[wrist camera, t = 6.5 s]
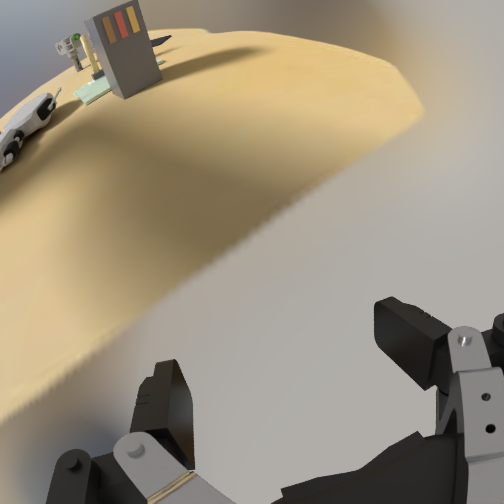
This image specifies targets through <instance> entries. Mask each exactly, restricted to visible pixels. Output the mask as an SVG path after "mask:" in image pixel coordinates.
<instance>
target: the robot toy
mask: <svg viewBox="0 0 504 504" xmlns="http://www.w3.org/2000/svg"><path fill="white" fill-rule="evenodd" d="M60 91H61V88H59V89H58V92H57V93H56V95H55V97H54V98H53V96H52V94H50V93H45V94H42V95H39V96H37V97H35V98H34V99H32V100H30V101H29V102H27V103H26V104H24V105H23V106H22V107H21V108H19V109H18V110H17V111H16V112H15V114H14V115H13V116H12V117H11V118H10V120H9V121H8V122H7V123H6V125H5V126H4V129H3V133H1V135H0V170H1V169H2V168H3V167H4V166H6V165H8V164H10V163H11V162H13V161H14V160H15V158H16V157H17V155H18V151H19V149H20V148H21V146H22V139H23V138H25V137H27V136H28V135H30V134H32V133H33V132H35V131H36V130H37V129H41V128H43V127H44V126H46V125H47V124H48V122H49V120H50V118H51V114H52V113H53V112H54V110H55V109H56V104H57V102H56V101H55V99H56V97H57V96H58V94H59V92H60Z"/></svg>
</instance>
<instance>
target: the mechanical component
mask: <svg viewBox="0 0 504 504" xmlns="http://www.w3.org/2000/svg"><path fill="white" fill-rule="evenodd" d="M80 37H81V35H80V34H79V33H76V34H74V35H71V36H69V37H67V38H65V39H63V40H62V41H60V42H58V43H57V44H55V46H56V48H57V50H58V52H59V54H60V55H63V54H66V53H67V54H68V56H69V58H71V59H72V61H73V63H74V66H75V68H76V70H77V72H79V71H80V69H83V68H82V65H81V63H80V61H79V59H78V56H77V54H78V52H77V50H76V48H78V47H79V46H81V45H82V42H81V40H80Z"/></svg>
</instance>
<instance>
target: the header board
mask: <svg viewBox="0 0 504 504" xmlns="http://www.w3.org/2000/svg"><path fill="white" fill-rule="evenodd" d="M88 35H89V34H88ZM89 37H90V36H89ZM80 40H81V42H82V45H83V47H84V50H85V52H86V54H87V57H88V59H89V62H90V64H91V67H92V69H93V71H94V74H92V78H93V80H92V81H90V82H88V83H87V84H85V85H84V86H82V87H81V88H79V89H78V90H76V91H75V92H73V94H74V95H75V96H76V97H77V98H78V99H80V100H81V101H82V102H83V103H84V104H85V105H88V104H89V103H91V102H93V101H94V100H96V99H97V98H99V97H100V96H102V95H104V94H105V93H107V92H109V91H110V90H111V88H110V85H109V83H108V81H107V78H106V76H105V74H104V71H103V69H101V70H99V68H98V65H97V63H96V60H95V58H94V55H93V53H92V51H91V48H90V46H89V43H88V41H87V38H86V35H83V36H81V37H80ZM90 40H91V39H90ZM91 43H92V41H91ZM92 45H93V44H92ZM93 48H94V47H93ZM94 50H95V49H94ZM95 53H96V52H95ZM96 55H97V54H96ZM97 58H98V57H97ZM98 60H99V59H98ZM156 61H157V64H158V65H160V64H162V63H164V62H163V60H161V59H156ZM99 63H100V62H99ZM100 65H101V64H100ZM101 67H102V66H101Z"/></svg>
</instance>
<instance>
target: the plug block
mask: <svg viewBox="0 0 504 504" xmlns="http://www.w3.org/2000/svg"><path fill="white" fill-rule="evenodd" d="M84 23H85V26H86V28H87V31H88V34H89V36H90V39H91V41H92V44H93V47H94V49H95V52H96V54H97V57H98V59H99V62H100V64H101V66H102V69H103V71H104V74H105V76H106V78H107V81H108V83H109V85H110V88H111V90H112V92H113V94H115V95H117V96H119V97H121V98H123V99H126V98H128V97H130V96H132V95H133V94H135V93H137V92H139V91H140V90H142V89H144V88H146V87H148V86H150V85H152V84H154V83H155V82H157V81H159V80H161V79H162V76H161V73H160V70H159V67H158V64H157V61H156V58H155V55H154V52H153V48H152V45H151V42H150V39H149V36H148V33H147V30H146V26H145V23H144V20H143V16H142V13H141V10H140V7H139V3H138V0H132V1H130V2H127V3H124V4H122V5H119V6H117V7H114V8H112V9H110V10H107V11H105V12H103V13H101V14H99V15H96V16H94V17H92V18H90V19H88V20H86V21H84Z"/></svg>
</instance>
